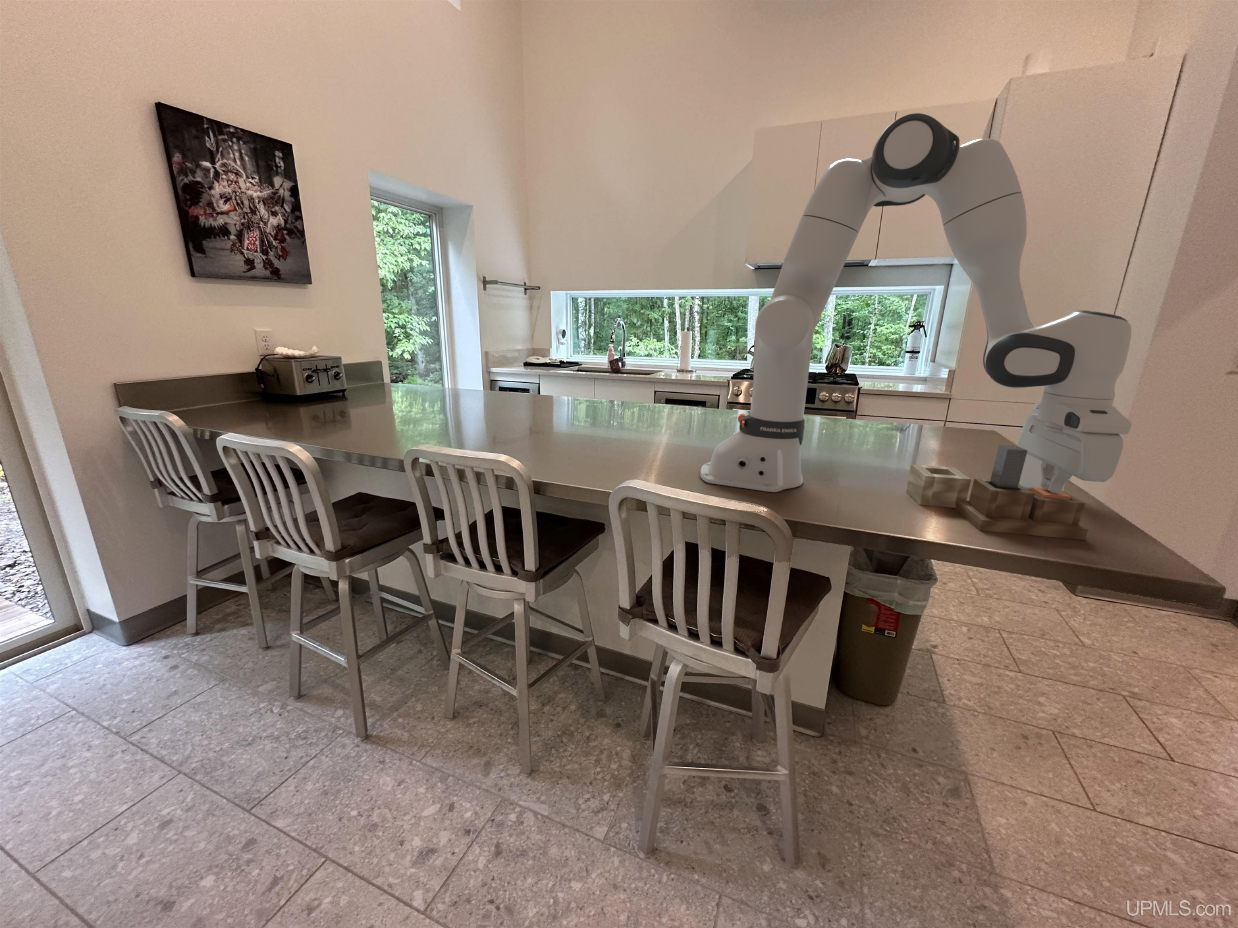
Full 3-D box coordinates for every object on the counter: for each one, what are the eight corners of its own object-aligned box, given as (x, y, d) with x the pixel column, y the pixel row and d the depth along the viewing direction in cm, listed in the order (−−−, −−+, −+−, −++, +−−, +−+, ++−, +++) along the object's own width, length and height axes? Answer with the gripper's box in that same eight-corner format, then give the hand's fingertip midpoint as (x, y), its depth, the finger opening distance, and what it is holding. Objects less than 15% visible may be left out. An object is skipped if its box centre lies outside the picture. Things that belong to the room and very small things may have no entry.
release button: (1038, 515, 88) (1044, 494, 87) (1025, 507, 92) (1031, 487, 90) (1064, 518, 87) (1071, 496, 86) (1050, 509, 91) (1056, 488, 90)
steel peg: (991, 513, 90) (1007, 449, 86) (983, 507, 93) (999, 444, 89) (1010, 515, 89) (1027, 450, 86) (1001, 509, 92) (1018, 446, 89)
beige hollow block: (919, 504, 99) (925, 475, 97) (906, 491, 107) (911, 464, 105) (964, 508, 98) (971, 479, 96) (947, 494, 105) (953, 467, 103)
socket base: (979, 530, 88) (988, 492, 86) (955, 509, 97) (963, 475, 95) (1085, 540, 85) (1097, 501, 83) (1049, 517, 94) (1059, 482, 92)
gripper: (1018, 401, 94) (1000, 471, 98) (1091, 423, 75) (1065, 509, 79) (1056, 403, 93) (1036, 473, 97) (1141, 426, 74) (1112, 513, 78)
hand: (1050, 490), depth 88 cm, fingers closed
